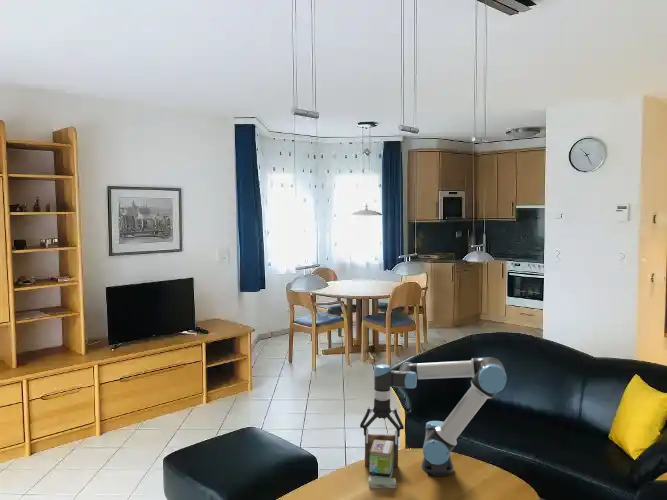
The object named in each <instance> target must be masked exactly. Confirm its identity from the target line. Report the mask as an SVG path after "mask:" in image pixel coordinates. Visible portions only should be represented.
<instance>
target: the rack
mask: <svg viewBox="0 0 667 500" xmlns="http://www.w3.org/2000/svg"><path fill="white" fill-rule="evenodd" d="M374 439H376V440H386V441H394V456H393V468H398V467H399V437H397V444H395V434H385V433H384V434H381V433H380V434H379V433H368V443H366V436H364V466H365V467H368V466H369V467H370V450H371V447H372V444H373V441H374Z"/></svg>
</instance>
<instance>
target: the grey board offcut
mask: <svg viewBox="0 0 667 500" xmlns="http://www.w3.org/2000/svg"><path fill="white" fill-rule="evenodd" d="M397 485H398V484H397V483H396V485H380V484H369V488H370V489H371V488H373V489H377V488H378V489H397Z"/></svg>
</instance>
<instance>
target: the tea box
mask: <svg viewBox="0 0 667 500" xmlns="http://www.w3.org/2000/svg"><path fill="white" fill-rule="evenodd" d="M393 456H394V441H386V440H376V439H374V441H373V444H372V447H371V450H370V466H369V475H368V478H369V477H377V478H392V476H393V471H394V467H393Z"/></svg>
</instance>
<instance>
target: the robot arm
mask: <svg viewBox="0 0 667 500" xmlns="http://www.w3.org/2000/svg"><path fill="white" fill-rule="evenodd" d="M373 378H374V381H373V382H374V383H373V386H374V391H373V397H374V399H373V407H370V406H368V407H367V408H366V413H365V414H364V416H363V418H362V420H361V422H360V424H359V428H360V429H363V436H364V437H365V436H366V443H368V434H369V427H370V425H371V424H372V423H373V422H374V421H375V420H377V419H387V420H388V421H389V422H390V423H391V424H392V425H393V427H394V428H395V430H394V435H395V444H397V437H398V438H400V436H401V430H404V429H405V428H404V424H403V422H402V420H401V417H400V416H399V413H398V410H397V409H398V408H396V407H394V408H391V387H392V388H400V389H401V388H402V389H403V388H404V389H415V388H417V385H418V384H417V382H418V381H417V380H431V379H432V380H433V379H452V378H453V379H454V378H455V379H456V378H471V380H470V384H471V386H470V387H469V389H468V390H467V391H466V392H465V394H464V395H463V396H462V398H461V399H460V400H459V401H458V402H457V404H456V406H455V407H454V408H453V409H452V411H451V412H450V413H449V415H448V416H447V417H446V418H445V420H444V421H440V420H429V421H428V422H426V423H425V437H424V441H423V446H422V453H423V459H422V462H421V470H423V471H424V472H425V473H427V475H430V476H433V477H448V476H451V475H452V474H453V473H454V471H455V469H454V464H453V460H452V456H451V453H452V451H453V450H454V448H455V447H456V445H458V441H457V439H458V438H459V436H460V435H461V434H462V432H463V431H464V430H465V428H466V427H467V426H468V424H469V423H470V422H471V420H472V419H473V418H474V416H475V415H476V414H477V412H478V411H479V410H480V408H482V406H483V405H484V404H485V402H486V401H487V400H488V399H493V398H494V397H495V396H496V394H497V393H499V392H501V391H502V390H503V389H504V388H505V386H506V383H507V379H508V378H507V372H506V370H505V366H504V364H503V362H502V361H501V360H500V359H498V358H495V357H493V356H492V357H491V356H483V357H471V359H470V360H458V361H457V360H454V361H439V362H438V361H437V362H422V363H421V362H420V363H414V362H413V363H412V362H411V361H406V362H403V363H402V364H401V365H400V366H399V370H395V369H394V370H393V369H392V367H391V365H389V364H385V363H381V364H377V365H376V366H375V367H374V374H373ZM372 412H373V413H374V414H373V415H372V416H371V417H370V418H369V416H370V414H372ZM391 413H392V414H393V415H394V417H395V419H396V421H397V422H396V421H395V420H394V418H393V417H392V416H391ZM368 418H369V419H368ZM367 420H368V421H367ZM366 421H367V422H366Z"/></svg>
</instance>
